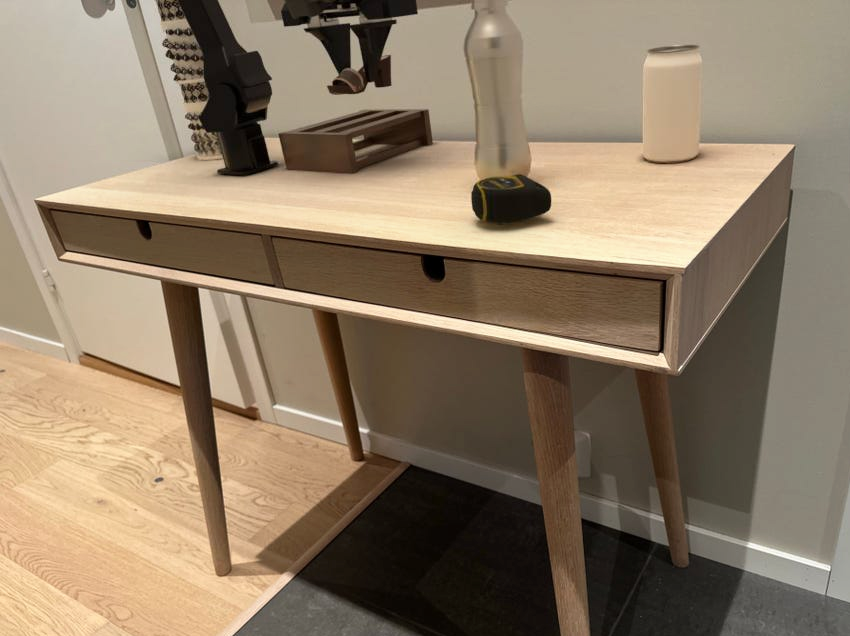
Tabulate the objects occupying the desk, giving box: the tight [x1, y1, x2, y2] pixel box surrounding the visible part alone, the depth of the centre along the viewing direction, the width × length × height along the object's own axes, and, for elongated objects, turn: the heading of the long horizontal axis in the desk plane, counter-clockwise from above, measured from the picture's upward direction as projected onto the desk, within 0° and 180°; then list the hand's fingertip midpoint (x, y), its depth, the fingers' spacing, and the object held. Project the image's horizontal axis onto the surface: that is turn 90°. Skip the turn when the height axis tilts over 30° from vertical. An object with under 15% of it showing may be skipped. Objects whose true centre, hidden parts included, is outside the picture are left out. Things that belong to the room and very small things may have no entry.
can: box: [642, 44, 703, 164], centre depth 81 cm, size 6×6×12 cm
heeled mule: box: [326, 54, 393, 96], centre depth 92 cm, size 4×11×4 cm, turn 139°
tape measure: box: [470, 174, 552, 226], centre depth 67 cm, size 7×7×4 cm
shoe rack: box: [278, 108, 434, 174], centre depth 103 cm, size 13×18×5 cm
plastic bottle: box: [462, 0, 532, 181], centre depth 76 cm, size 6×7×20 cm
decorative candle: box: [155, 0, 223, 161], centre depth 112 cm, size 9×9×25 cm
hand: (358, 82), depth 92 cm, fingers closed on heeled mule, 4 cm apart
